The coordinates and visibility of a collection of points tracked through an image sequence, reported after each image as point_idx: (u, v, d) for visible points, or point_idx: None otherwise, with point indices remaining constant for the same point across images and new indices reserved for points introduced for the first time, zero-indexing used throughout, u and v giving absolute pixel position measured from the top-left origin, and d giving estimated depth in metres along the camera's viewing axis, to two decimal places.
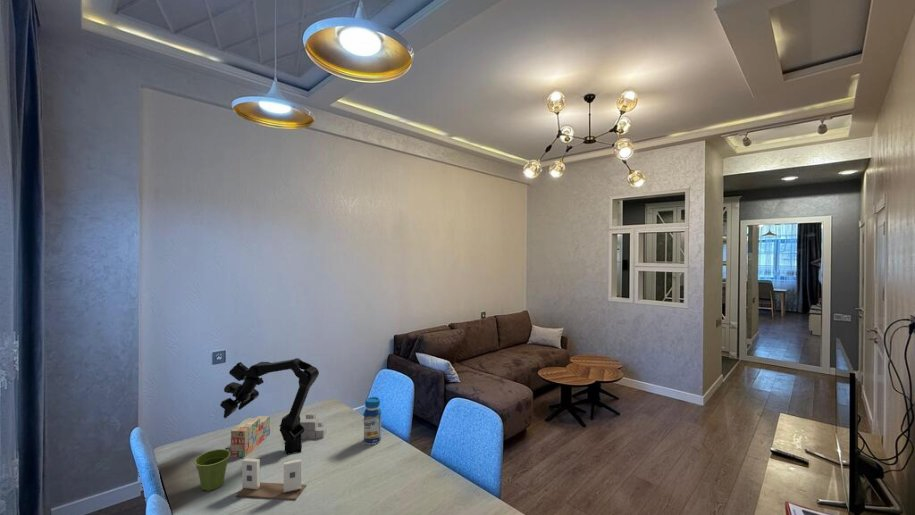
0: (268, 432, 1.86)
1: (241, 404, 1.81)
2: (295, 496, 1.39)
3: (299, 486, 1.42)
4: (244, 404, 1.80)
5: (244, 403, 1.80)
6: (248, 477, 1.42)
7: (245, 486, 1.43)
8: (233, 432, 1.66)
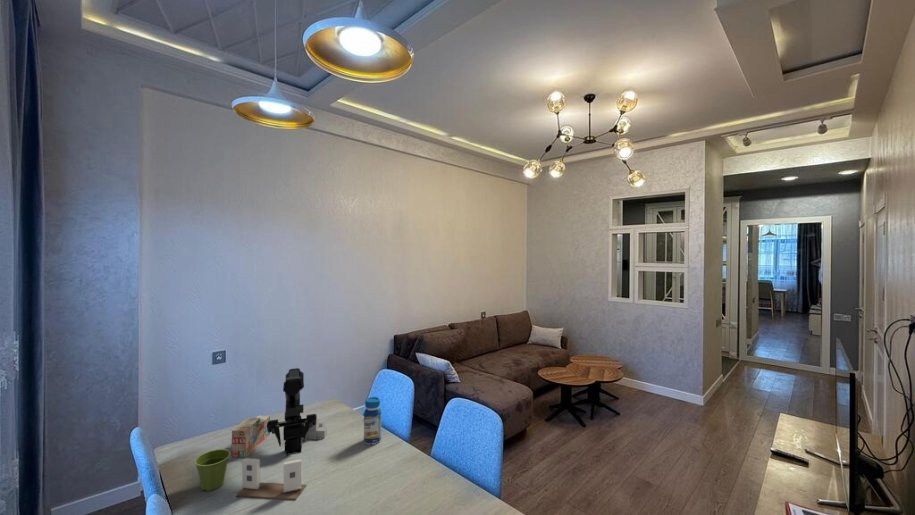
0: (268, 432, 1.86)
1: (280, 439, 1.51)
2: (295, 496, 1.39)
3: (299, 486, 1.42)
4: None
5: None
6: (248, 477, 1.42)
7: (245, 486, 1.43)
8: (234, 432, 1.66)
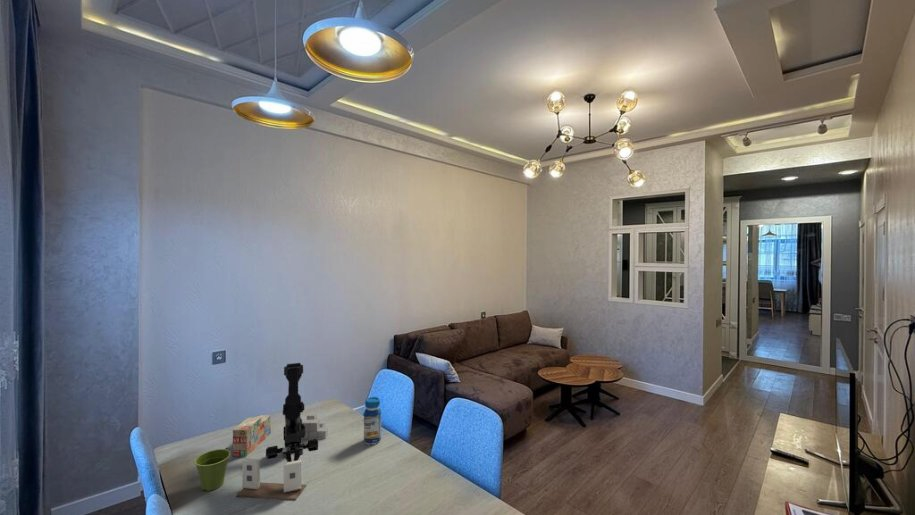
0: (269, 431, 1.86)
1: None
2: (295, 496, 1.39)
3: (299, 486, 1.42)
4: None
5: None
6: (248, 477, 1.42)
7: (245, 486, 1.43)
8: (235, 431, 1.66)
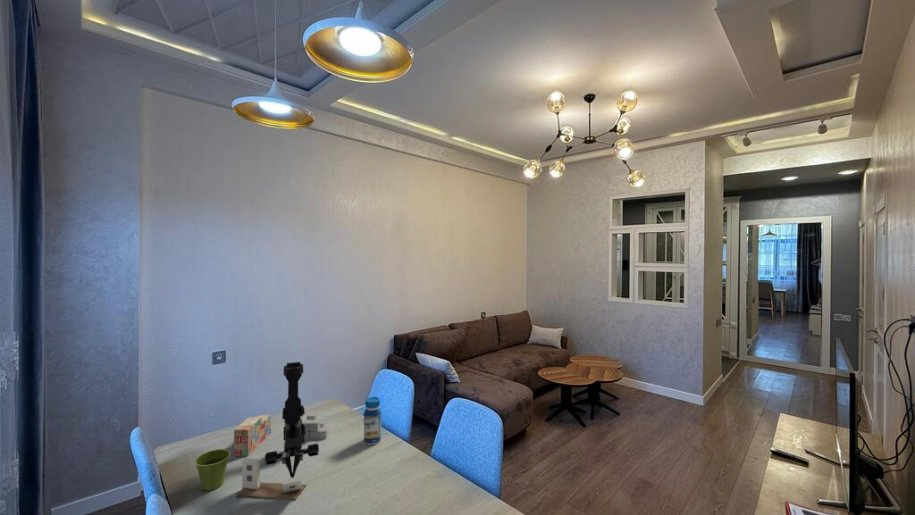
0: (269, 431, 1.87)
1: (291, 470, 1.40)
2: (295, 496, 1.39)
3: (299, 488, 1.42)
4: None
5: None
6: (248, 477, 1.42)
7: (245, 486, 1.43)
8: (236, 431, 1.67)
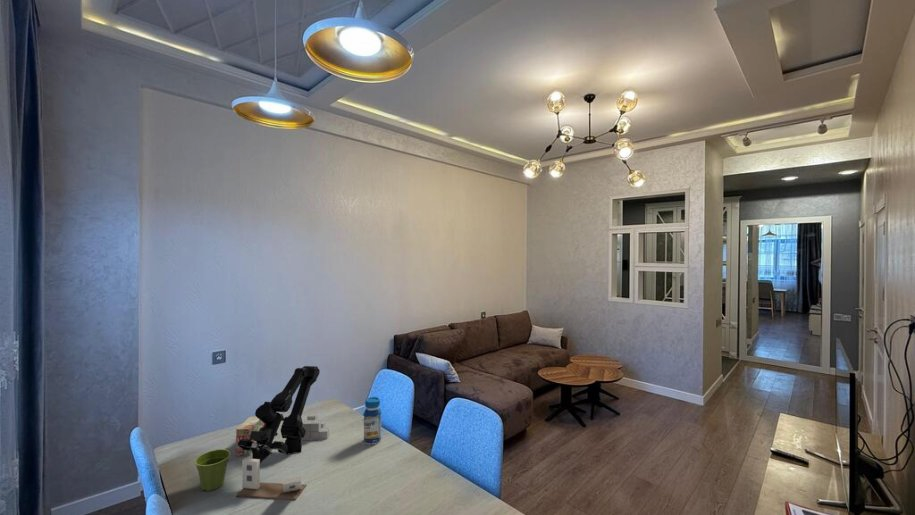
0: None
1: None
2: (295, 496, 1.39)
3: (299, 488, 1.42)
4: None
5: None
6: (248, 477, 1.42)
7: (245, 486, 1.43)
8: (238, 430, 1.67)
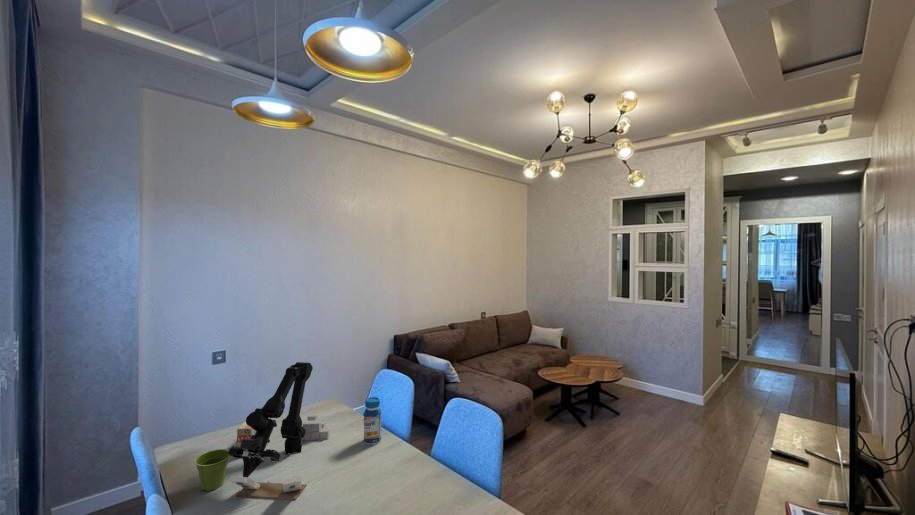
0: None
1: None
2: (295, 496, 1.39)
3: (299, 488, 1.42)
4: None
5: None
6: (244, 486, 1.40)
7: None
8: (239, 430, 1.68)
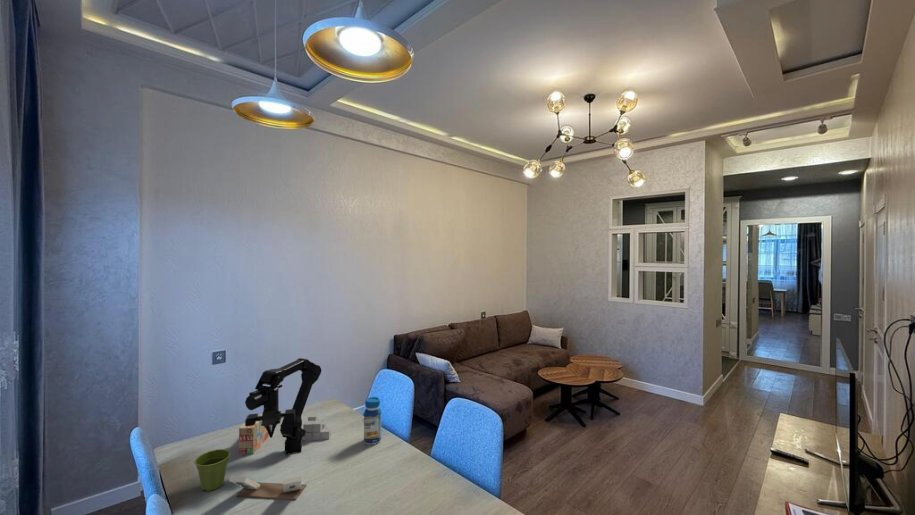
0: (271, 429, 1.88)
1: (270, 431, 1.59)
2: (295, 496, 1.39)
3: (299, 488, 1.42)
4: (270, 427, 1.61)
5: (270, 427, 1.60)
6: (244, 486, 1.40)
7: None
8: (241, 429, 1.68)
